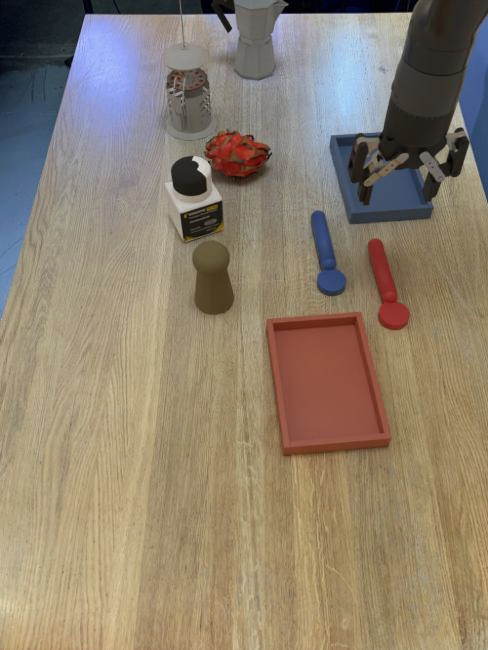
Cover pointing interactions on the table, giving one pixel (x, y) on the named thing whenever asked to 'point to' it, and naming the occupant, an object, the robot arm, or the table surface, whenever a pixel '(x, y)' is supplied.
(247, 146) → the dragon fruit
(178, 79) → the french press
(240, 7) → the coffee maker
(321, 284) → the blue spoon
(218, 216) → the medicine bottle
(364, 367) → the red tray
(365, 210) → the blue tray
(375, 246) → the red spoon
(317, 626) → the table surface
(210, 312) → the cork
